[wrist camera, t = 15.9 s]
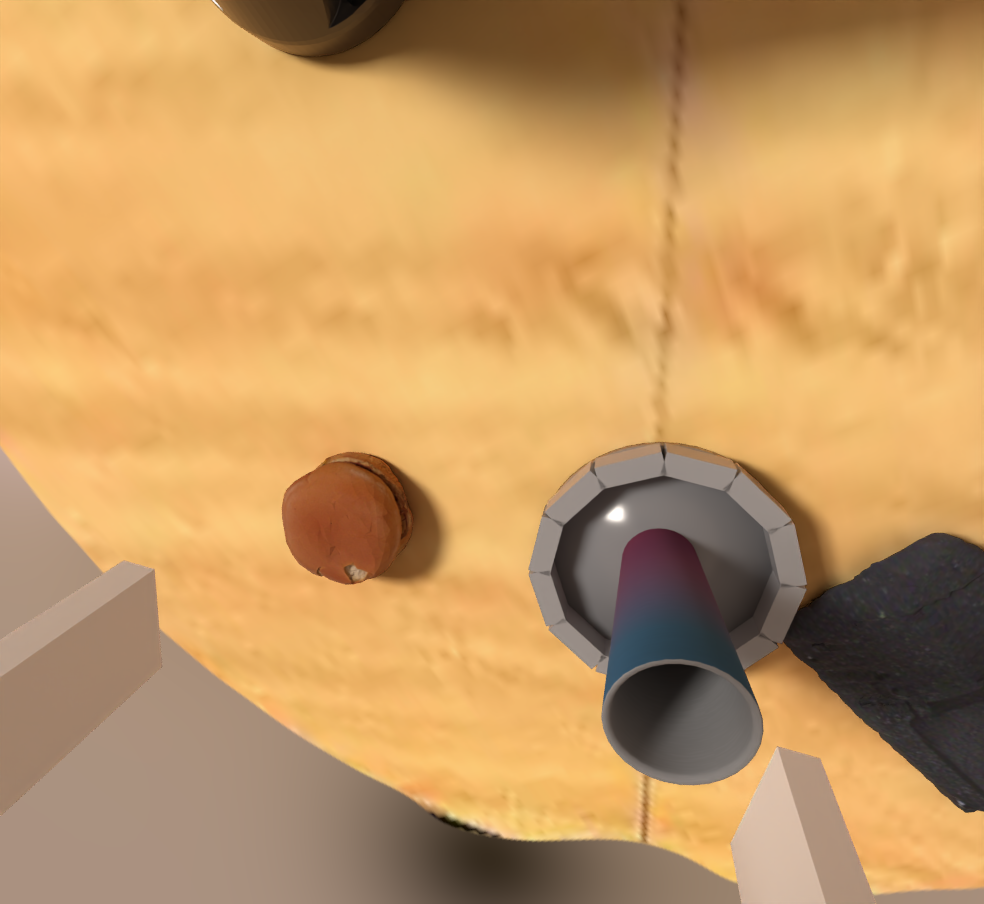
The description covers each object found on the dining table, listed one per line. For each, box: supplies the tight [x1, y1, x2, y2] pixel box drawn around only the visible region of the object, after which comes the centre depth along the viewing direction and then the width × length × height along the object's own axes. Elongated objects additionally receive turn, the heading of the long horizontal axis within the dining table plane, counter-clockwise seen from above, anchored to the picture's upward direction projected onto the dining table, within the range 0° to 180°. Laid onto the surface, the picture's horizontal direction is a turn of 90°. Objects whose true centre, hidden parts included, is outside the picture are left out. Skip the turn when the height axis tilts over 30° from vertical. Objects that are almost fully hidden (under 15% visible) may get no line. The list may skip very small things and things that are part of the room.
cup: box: [602, 528, 763, 785], centre depth 32 cm, size 7×7×15 cm
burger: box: [282, 452, 413, 584], centre depth 42 cm, size 10×9×5 cm
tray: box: [529, 442, 807, 675], centre depth 39 cm, size 17×17×3 cm
